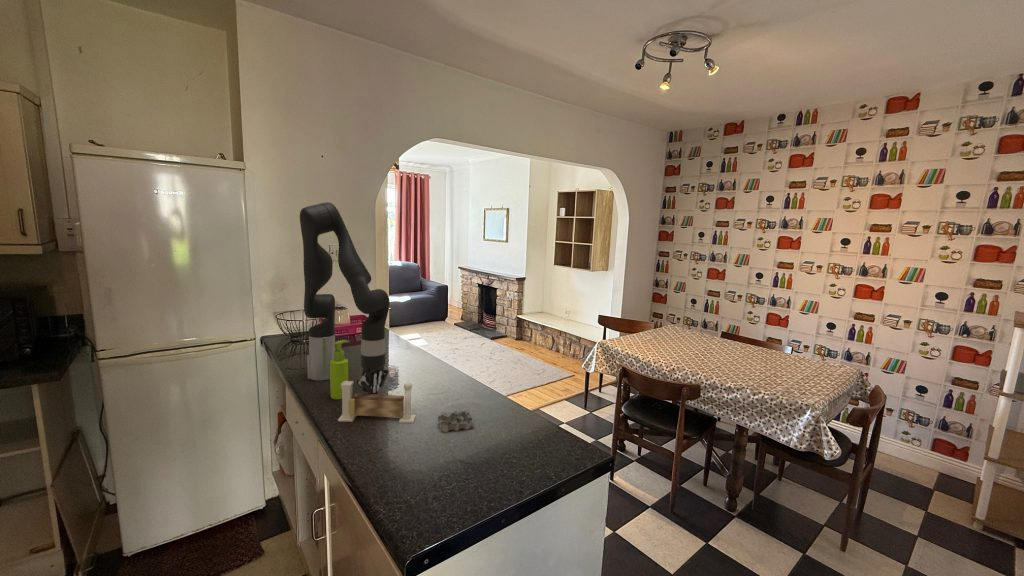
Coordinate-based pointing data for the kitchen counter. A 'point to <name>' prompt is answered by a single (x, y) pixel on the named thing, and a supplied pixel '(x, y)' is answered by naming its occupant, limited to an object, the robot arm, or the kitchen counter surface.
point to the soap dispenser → (338, 371)
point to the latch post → (347, 402)
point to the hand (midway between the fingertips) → (373, 401)
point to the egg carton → (459, 417)
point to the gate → (379, 405)
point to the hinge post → (407, 405)
